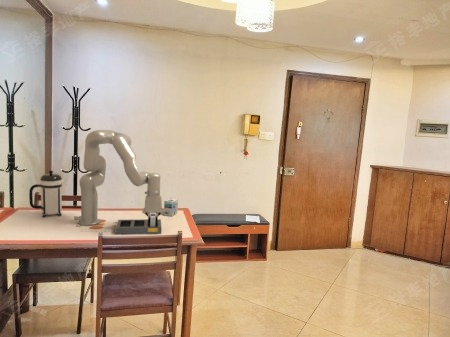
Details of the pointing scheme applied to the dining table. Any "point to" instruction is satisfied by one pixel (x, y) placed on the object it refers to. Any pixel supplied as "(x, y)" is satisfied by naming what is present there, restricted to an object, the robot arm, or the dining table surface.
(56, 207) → the coffee press
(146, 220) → the rack
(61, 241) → the dining table surface
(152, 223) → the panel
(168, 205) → the light bulb box
